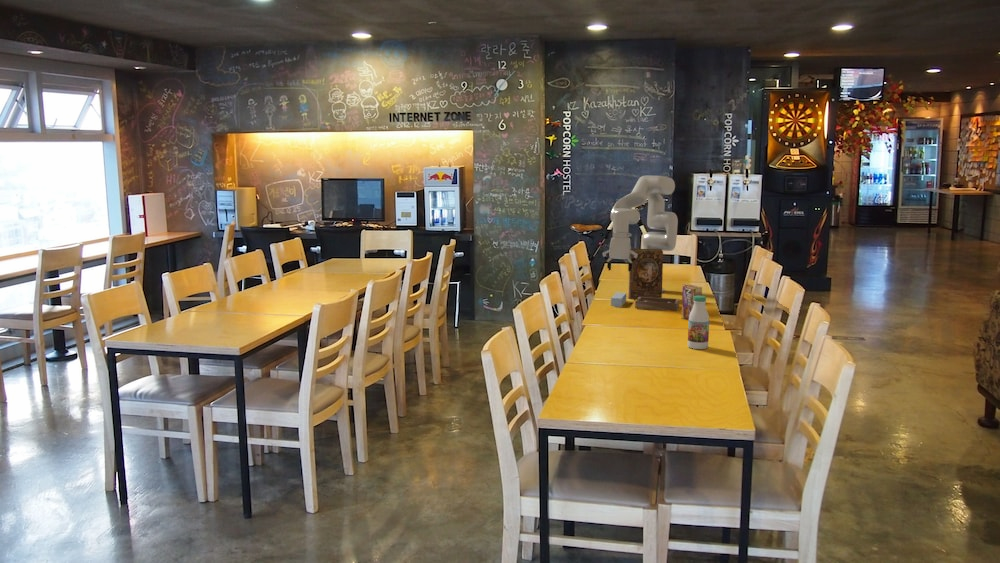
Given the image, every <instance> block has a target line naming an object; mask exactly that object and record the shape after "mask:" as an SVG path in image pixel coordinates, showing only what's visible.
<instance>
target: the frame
mask: <svg viewBox="0 0 1000 563" xmlns="http://www.w3.org/2000/svg"><path fill="white" fill-rule="evenodd" d="M634 304H635V305H634V309H635V308H637V309H636V310H650V309H653V310H652V311H667V310H670V312H672V311H673V312H677V311H678V310H679V309H678V308H679V307H680V298H673V297H672V298H670V297H669V298H668V297H662V298H653V297H638V298H637V299H635V301H634Z"/></svg>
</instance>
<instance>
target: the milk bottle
mask: <svg viewBox="0 0 1000 563" xmlns="http://www.w3.org/2000/svg"><path fill="white" fill-rule="evenodd" d="M693 302H694V306H693V308H692V310H691V312H690V315H689V320H688V322H687V323H688V324H687V325H688V327H687V328H688V329H687V347H688V348H689V347H690V348H689V349H692V348H693V349H692V350H706V348H707V349H708V348H709V339H710V338H709V337H710V336H709V334H710V315H709V312H708V310H707V306H706V303H707V297H706V296H705V295H702V296H694V301H693Z"/></svg>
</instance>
